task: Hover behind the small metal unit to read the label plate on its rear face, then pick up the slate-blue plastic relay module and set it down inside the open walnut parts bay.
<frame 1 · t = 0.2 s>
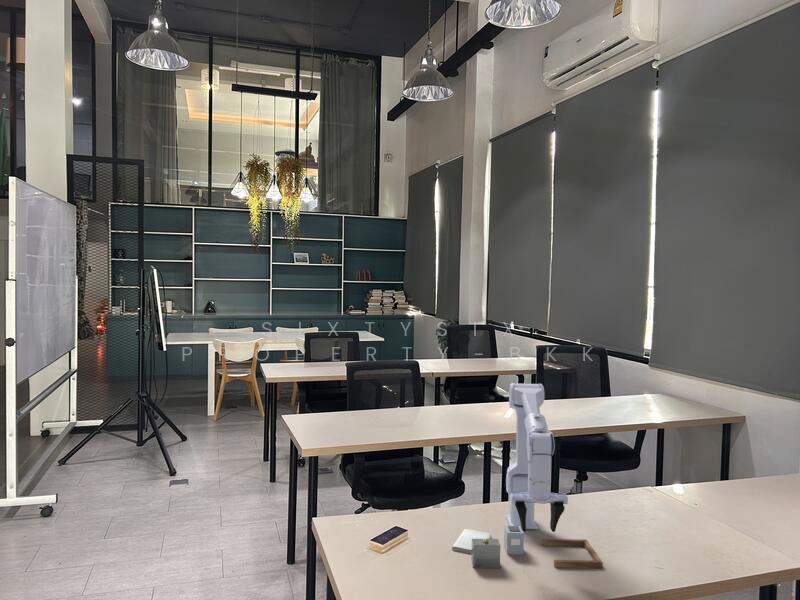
hand: (538, 530, 147), 10 cm above the table, tool pointing down, fingers open, 7 cm apart
bay: (570, 555, 154), on the table
module: (513, 550, 157), on the table
hard drive: (472, 545, 161), on the table
unit: (485, 564, 149), on the table
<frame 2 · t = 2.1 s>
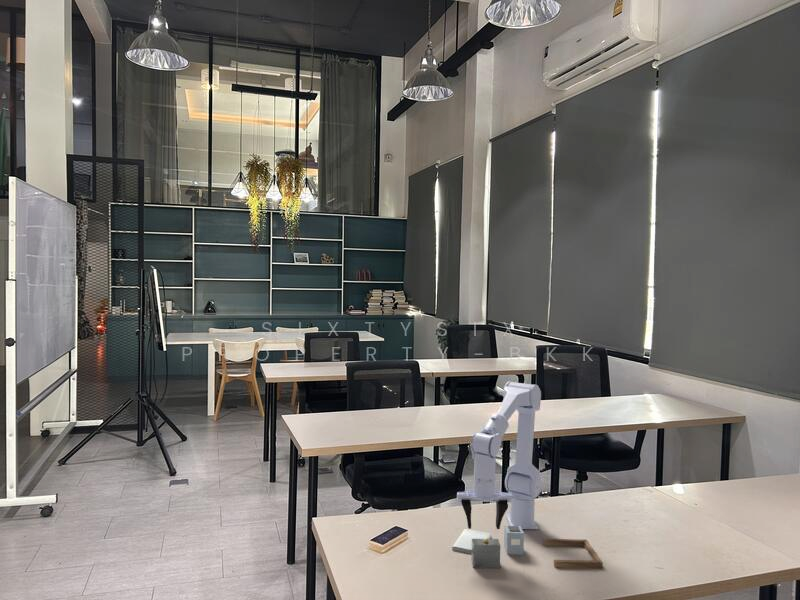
hand: (483, 527, 153), 8 cm above the table, tool pointing down, fingers open, 7 cm apart
nothing on the table moved.
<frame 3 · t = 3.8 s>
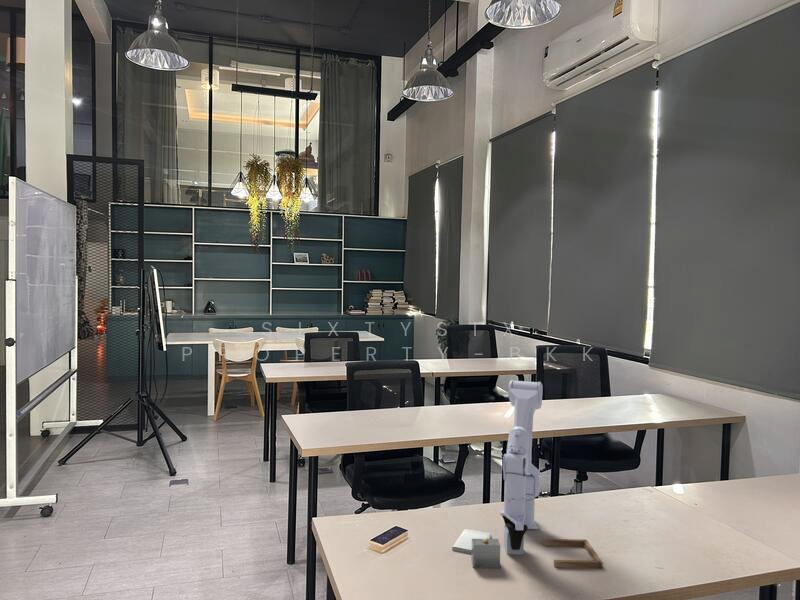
hand: (513, 544, 157), 2 cm above the table, tool pointing down, fingers closed on module, 5 cm apart
module: (513, 550, 157), on the table, touching gripper
everything else where it was.
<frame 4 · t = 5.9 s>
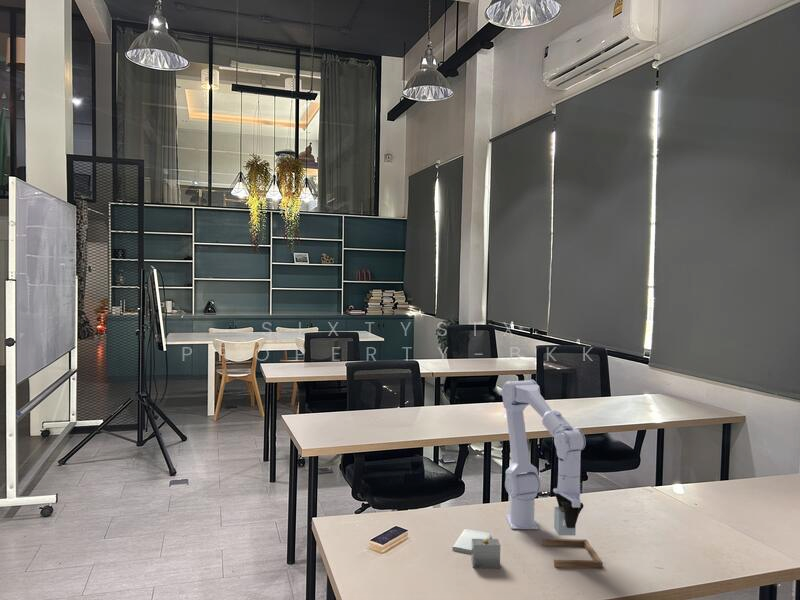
hand: (567, 523, 154), 9 cm above the table, tool pointing down, fingers closed on module, 5 cm apart
module: (564, 531, 154), point 7 cm above the table, touching gripper
everything else where it was.
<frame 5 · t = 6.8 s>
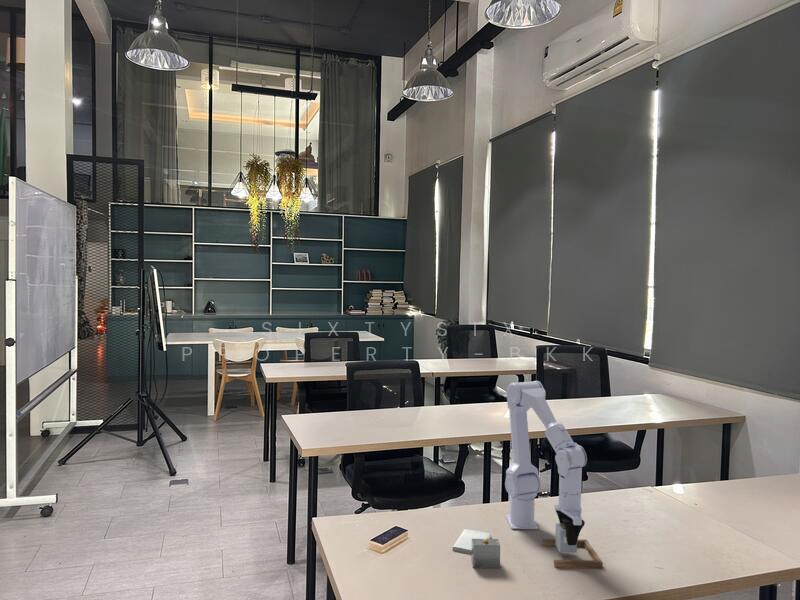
hand: (568, 540, 154), 4 cm above the table, tool pointing down, fingers closed on module, 5 cm apart
module: (565, 548, 154), point 2 cm above the table, touching gripper
everything else where it was.
when the fingers open (3 cm above the table, at t = 7.5 s): module stays where it is, on the table.
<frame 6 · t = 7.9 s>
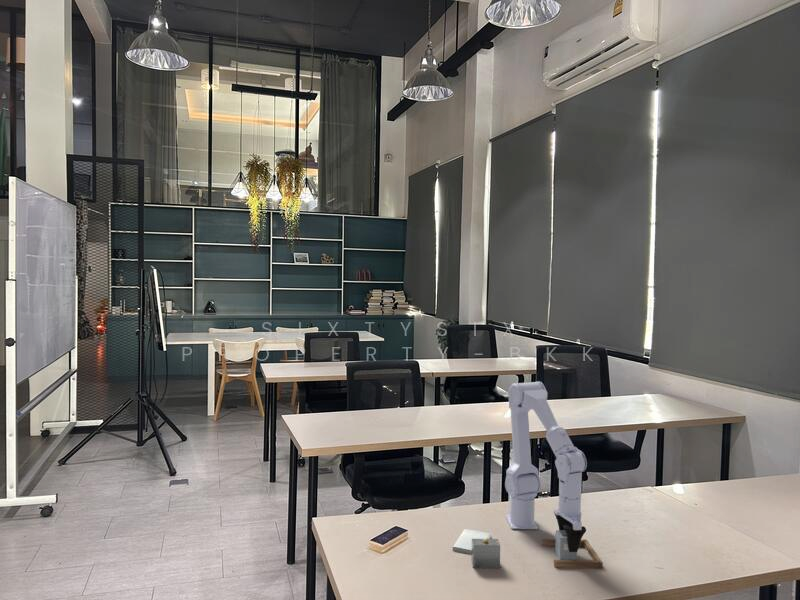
hand: (568, 544, 154), 3 cm above the table, tool pointing down, fingers open, 7 cm apart
module: (565, 555, 155), on the table
everything else where it was.
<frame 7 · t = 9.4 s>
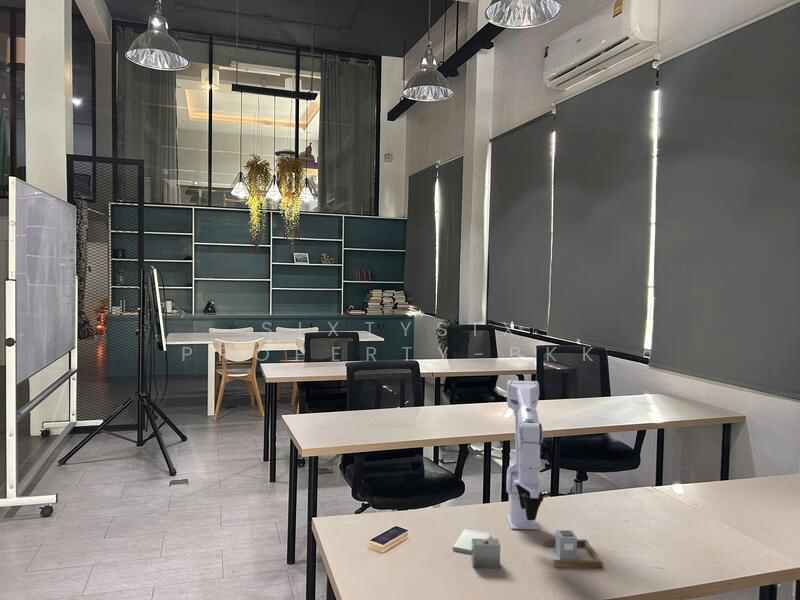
hand: (528, 513, 158), 10 cm above the table, tool pointing down, fingers open, 7 cm apart
nothing on the table moved.
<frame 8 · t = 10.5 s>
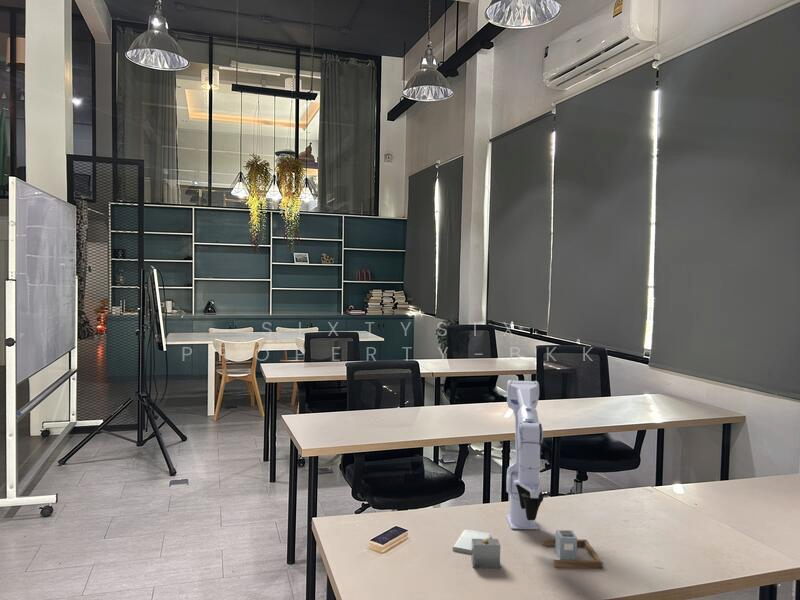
hand: (528, 513, 158), 10 cm above the table, tool pointing down, fingers open, 7 cm apart
nothing on the table moved.
at the end: module inside the target area (1.0 cm from its centre), on the table; module tilted 0°; the gripper is holding nothing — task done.
